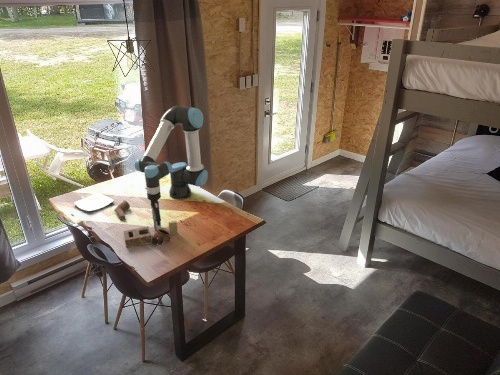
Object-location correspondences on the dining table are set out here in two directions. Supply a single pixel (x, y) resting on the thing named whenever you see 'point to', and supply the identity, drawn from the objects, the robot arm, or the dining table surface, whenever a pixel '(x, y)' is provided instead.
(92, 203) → the plate
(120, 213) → the pipe
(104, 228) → the dining table surface
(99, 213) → the dining table surface
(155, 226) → the square steel bit
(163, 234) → the pottery mug
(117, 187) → the dining table surface
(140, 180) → the dining table surface
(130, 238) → the socket block
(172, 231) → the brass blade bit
